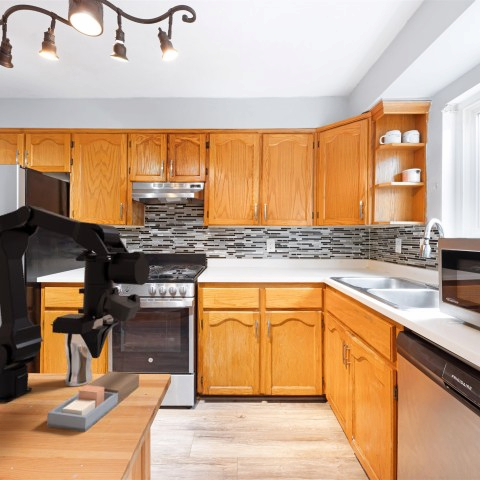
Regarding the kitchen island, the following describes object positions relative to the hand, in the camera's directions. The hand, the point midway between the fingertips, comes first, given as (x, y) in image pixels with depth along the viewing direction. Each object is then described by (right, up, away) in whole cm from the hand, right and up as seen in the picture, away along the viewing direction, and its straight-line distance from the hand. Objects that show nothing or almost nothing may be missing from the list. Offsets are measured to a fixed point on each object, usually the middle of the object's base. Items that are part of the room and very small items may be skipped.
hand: (96, 357), depth 65 cm
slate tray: (-1, -10, -3) cm, 11 cm away
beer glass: (-10, -11, +13) cm, 20 cm away
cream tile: (-1, -7, -5) cm, 9 cm away
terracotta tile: (0, -8, 0) cm, 8 cm away
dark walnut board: (+1, -11, +6) cm, 13 cm away
